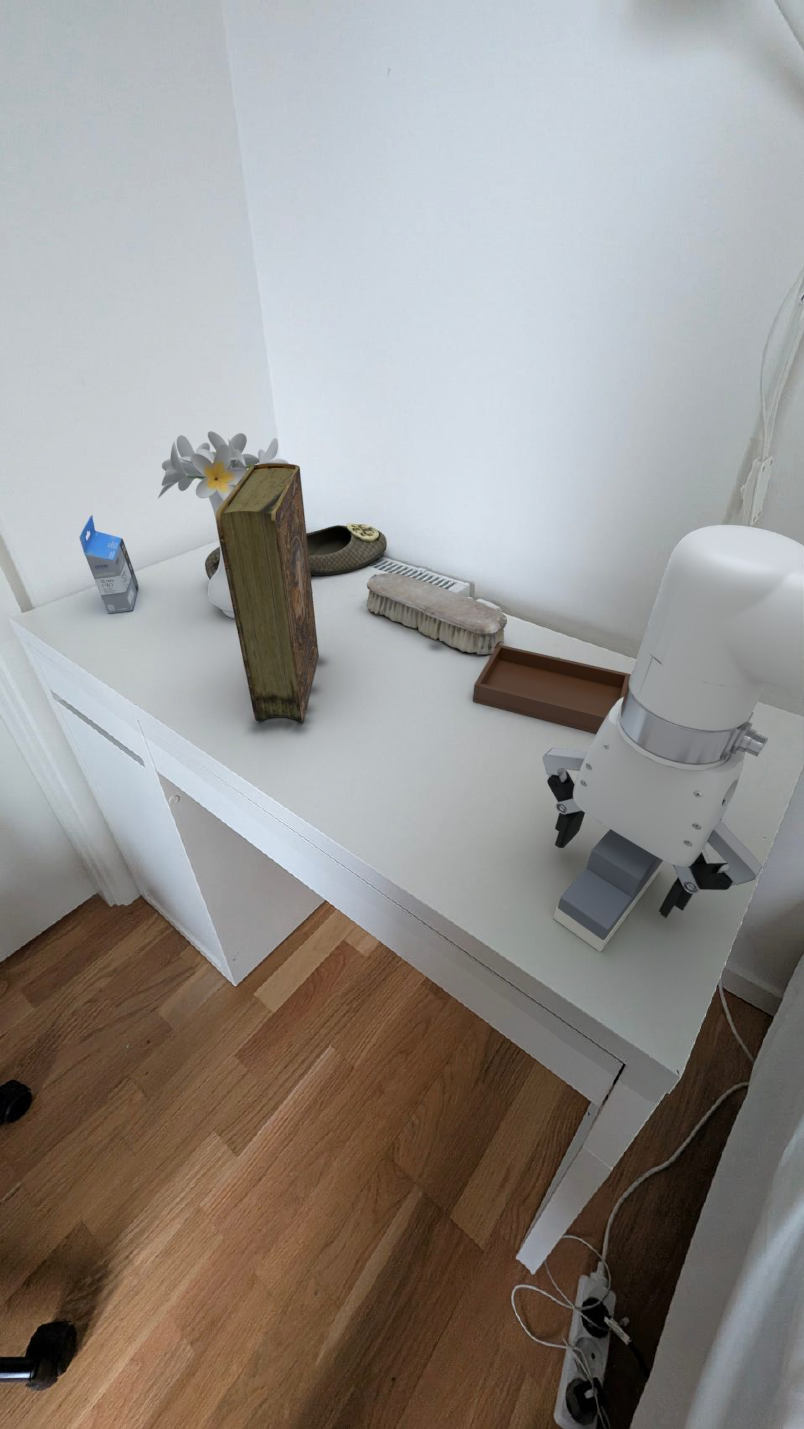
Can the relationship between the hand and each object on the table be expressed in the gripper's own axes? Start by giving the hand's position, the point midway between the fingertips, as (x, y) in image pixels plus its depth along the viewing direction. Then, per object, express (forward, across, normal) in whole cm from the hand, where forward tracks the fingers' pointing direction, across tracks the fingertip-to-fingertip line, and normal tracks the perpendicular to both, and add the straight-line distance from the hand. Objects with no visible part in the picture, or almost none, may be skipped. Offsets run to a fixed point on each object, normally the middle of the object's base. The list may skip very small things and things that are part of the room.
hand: (615, 869), depth 50 cm
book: (+3, +44, +1) cm, 44 cm away
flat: (+3, +71, -22) cm, 74 cm away
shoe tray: (+2, +19, -20) cm, 28 cm away
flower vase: (+3, +66, -7) cm, 67 cm away
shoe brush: (+3, +42, -23) cm, 48 cm away
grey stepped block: (+2, 0, +1) cm, 2 cm away
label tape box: (+4, +82, +5) cm, 82 cm away
